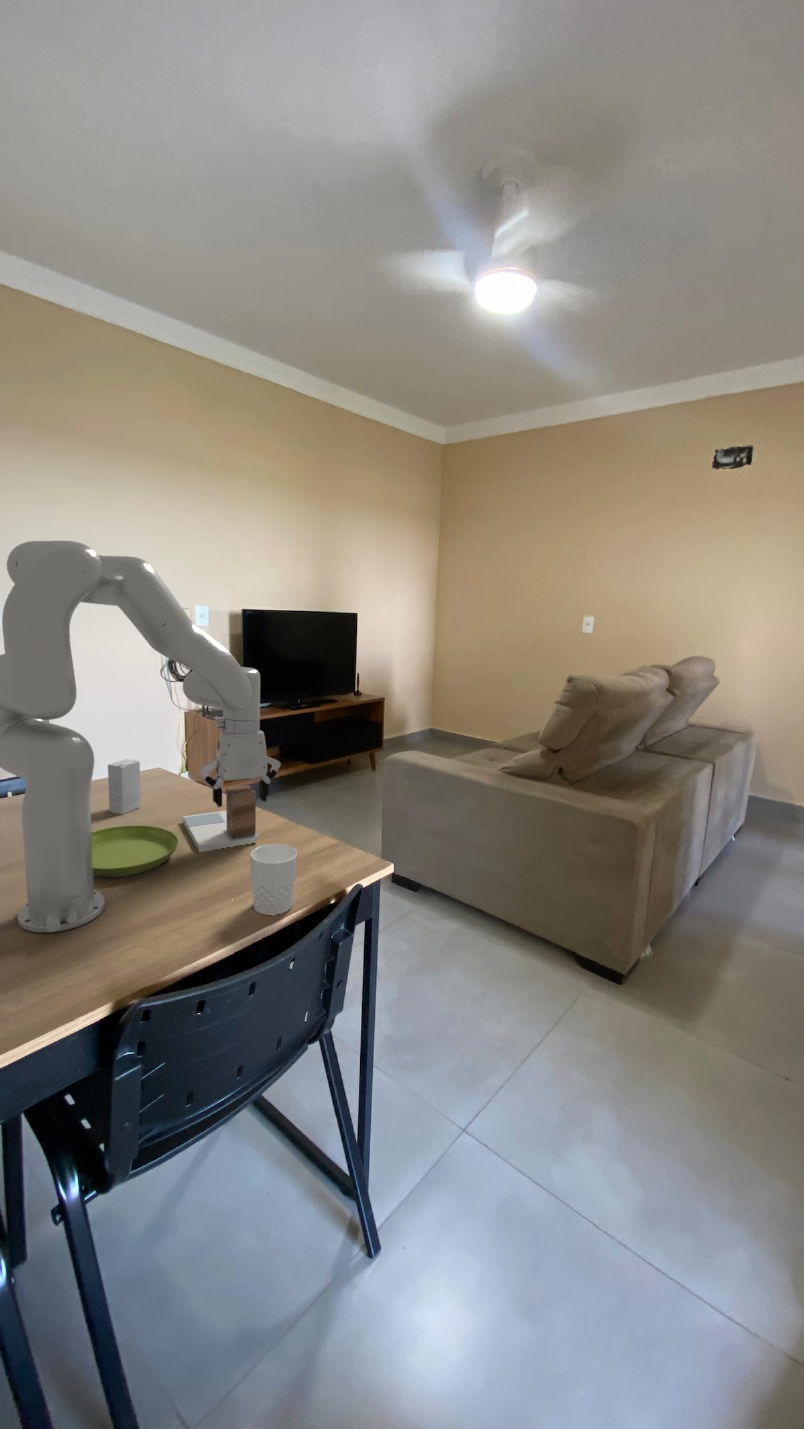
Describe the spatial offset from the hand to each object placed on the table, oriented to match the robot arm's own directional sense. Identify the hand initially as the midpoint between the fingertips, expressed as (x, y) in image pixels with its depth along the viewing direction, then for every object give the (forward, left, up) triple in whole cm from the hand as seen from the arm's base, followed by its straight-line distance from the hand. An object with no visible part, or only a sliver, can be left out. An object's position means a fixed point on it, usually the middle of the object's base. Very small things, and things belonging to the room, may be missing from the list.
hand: (241, 802), depth 129 cm
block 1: (0, 0, -2) cm, 2 cm away
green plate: (0, +24, -9) cm, 25 cm away
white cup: (-30, +3, -9) cm, 31 cm away
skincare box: (+28, +21, -9) cm, 36 cm away
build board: (+6, +4, -9) cm, 11 cm away
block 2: (0, 0, -7) cm, 7 cm away
